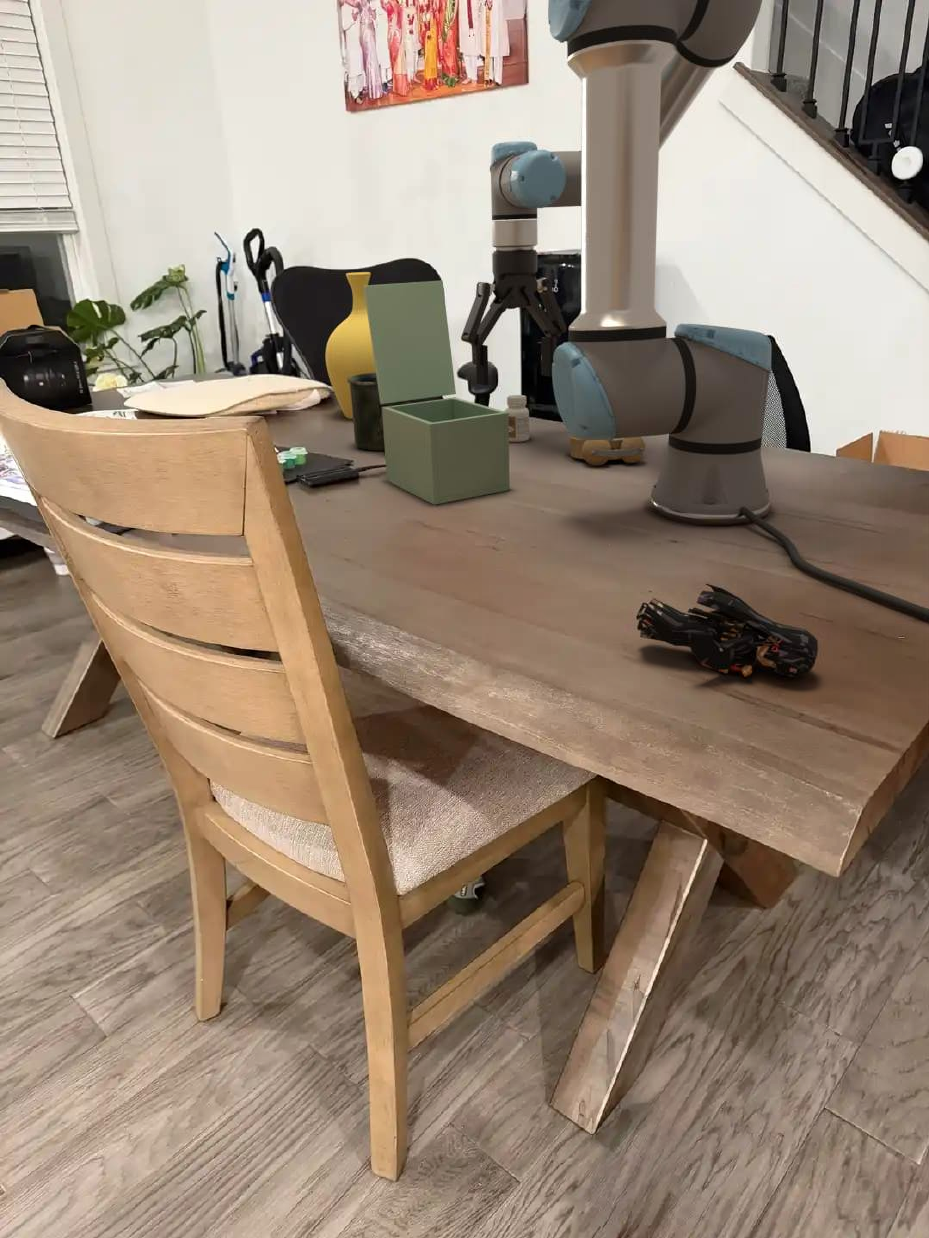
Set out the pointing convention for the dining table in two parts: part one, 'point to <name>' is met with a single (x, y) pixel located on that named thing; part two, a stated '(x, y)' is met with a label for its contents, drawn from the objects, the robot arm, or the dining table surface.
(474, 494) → the chest
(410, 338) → the lid
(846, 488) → the dining table surface
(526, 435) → the pill bottle
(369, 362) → the vase
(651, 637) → the figurine
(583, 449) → the wooden toy car
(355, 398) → the mug
